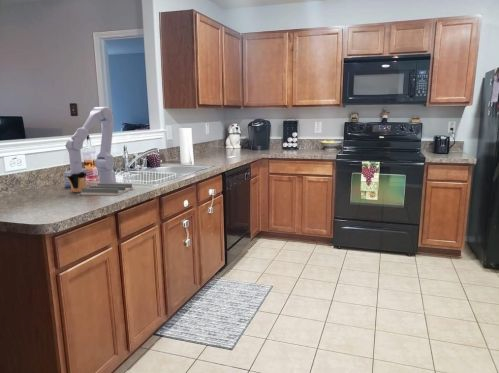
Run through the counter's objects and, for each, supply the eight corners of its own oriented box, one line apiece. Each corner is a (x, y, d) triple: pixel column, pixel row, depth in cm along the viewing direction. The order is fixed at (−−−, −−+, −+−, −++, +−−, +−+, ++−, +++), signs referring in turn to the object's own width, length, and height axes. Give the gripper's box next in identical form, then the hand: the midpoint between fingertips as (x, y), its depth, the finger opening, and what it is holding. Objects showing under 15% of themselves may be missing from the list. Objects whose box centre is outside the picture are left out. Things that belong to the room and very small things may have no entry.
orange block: (76, 190, 207) (74, 177, 206) (86, 190, 206) (84, 177, 205) (71, 191, 203) (69, 178, 202) (81, 191, 202) (80, 178, 201)
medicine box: (64, 187, 215) (62, 172, 214) (66, 186, 220) (64, 171, 218) (79, 186, 217) (78, 171, 216) (80, 185, 222) (79, 170, 220)
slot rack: (99, 188, 212) (99, 182, 211) (133, 188, 208) (132, 183, 207) (80, 194, 195) (80, 188, 195) (116, 195, 191) (116, 189, 191)
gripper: (77, 160, 210) (80, 184, 212) (59, 163, 196) (62, 190, 198) (89, 160, 208) (91, 185, 211) (72, 163, 194) (74, 190, 197)
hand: (78, 187), depth 204 cm, fingers closed on orange block, 4 cm apart
